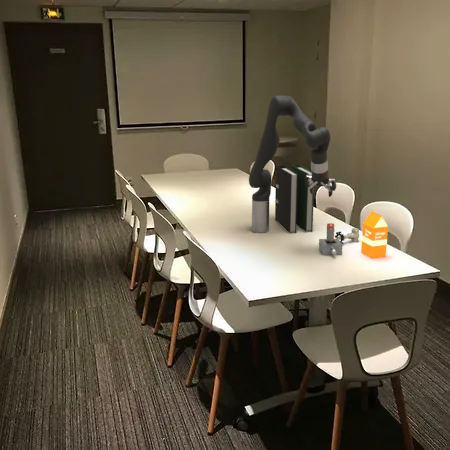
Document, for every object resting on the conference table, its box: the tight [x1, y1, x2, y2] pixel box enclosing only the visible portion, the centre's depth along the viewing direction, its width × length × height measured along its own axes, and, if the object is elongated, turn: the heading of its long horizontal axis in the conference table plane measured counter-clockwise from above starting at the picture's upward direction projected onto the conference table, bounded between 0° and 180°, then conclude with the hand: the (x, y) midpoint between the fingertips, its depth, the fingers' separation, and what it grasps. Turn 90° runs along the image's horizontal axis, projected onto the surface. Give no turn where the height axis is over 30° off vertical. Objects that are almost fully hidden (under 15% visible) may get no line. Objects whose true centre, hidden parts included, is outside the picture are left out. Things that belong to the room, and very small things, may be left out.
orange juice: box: [360, 210, 389, 259], centre depth 224 cm, size 8×9×20 cm
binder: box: [274, 164, 315, 234], centre depth 268 cm, size 27×15×32 cm, turn 9°
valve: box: [334, 227, 360, 245], centre depth 243 cm, size 7×7×12 cm
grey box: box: [318, 238, 343, 256], centre depth 228 cm, size 9×13×5 cm
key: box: [326, 222, 335, 243], centre depth 229 cm, size 3×3×13 cm
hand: (321, 194), depth 232 cm, fingers open, 8 cm apart
